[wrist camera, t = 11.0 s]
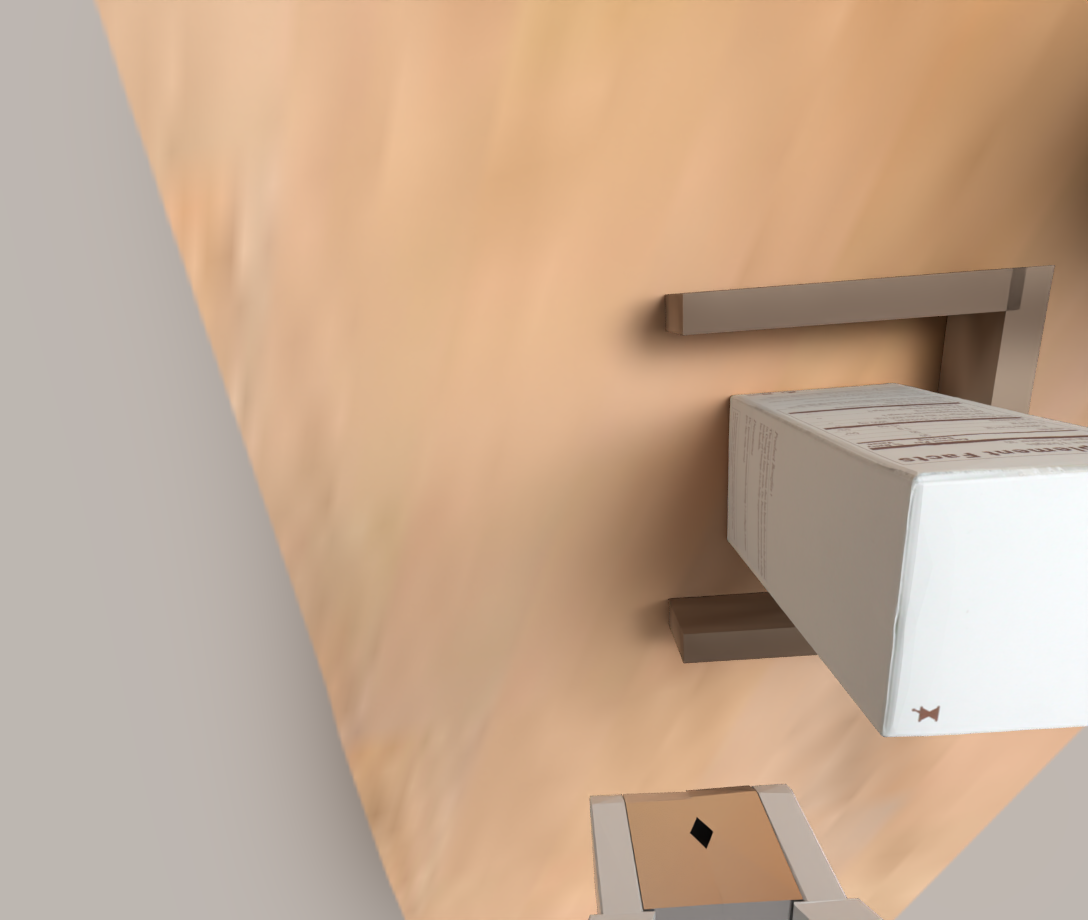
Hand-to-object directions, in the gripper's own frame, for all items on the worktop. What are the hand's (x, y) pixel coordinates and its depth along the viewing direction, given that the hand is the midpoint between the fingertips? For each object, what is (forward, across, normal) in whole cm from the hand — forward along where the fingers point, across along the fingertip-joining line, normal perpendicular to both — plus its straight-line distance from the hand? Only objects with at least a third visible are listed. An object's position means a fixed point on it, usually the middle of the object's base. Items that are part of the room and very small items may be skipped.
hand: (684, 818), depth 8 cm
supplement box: (+18, -10, +1) cm, 20 cm away
